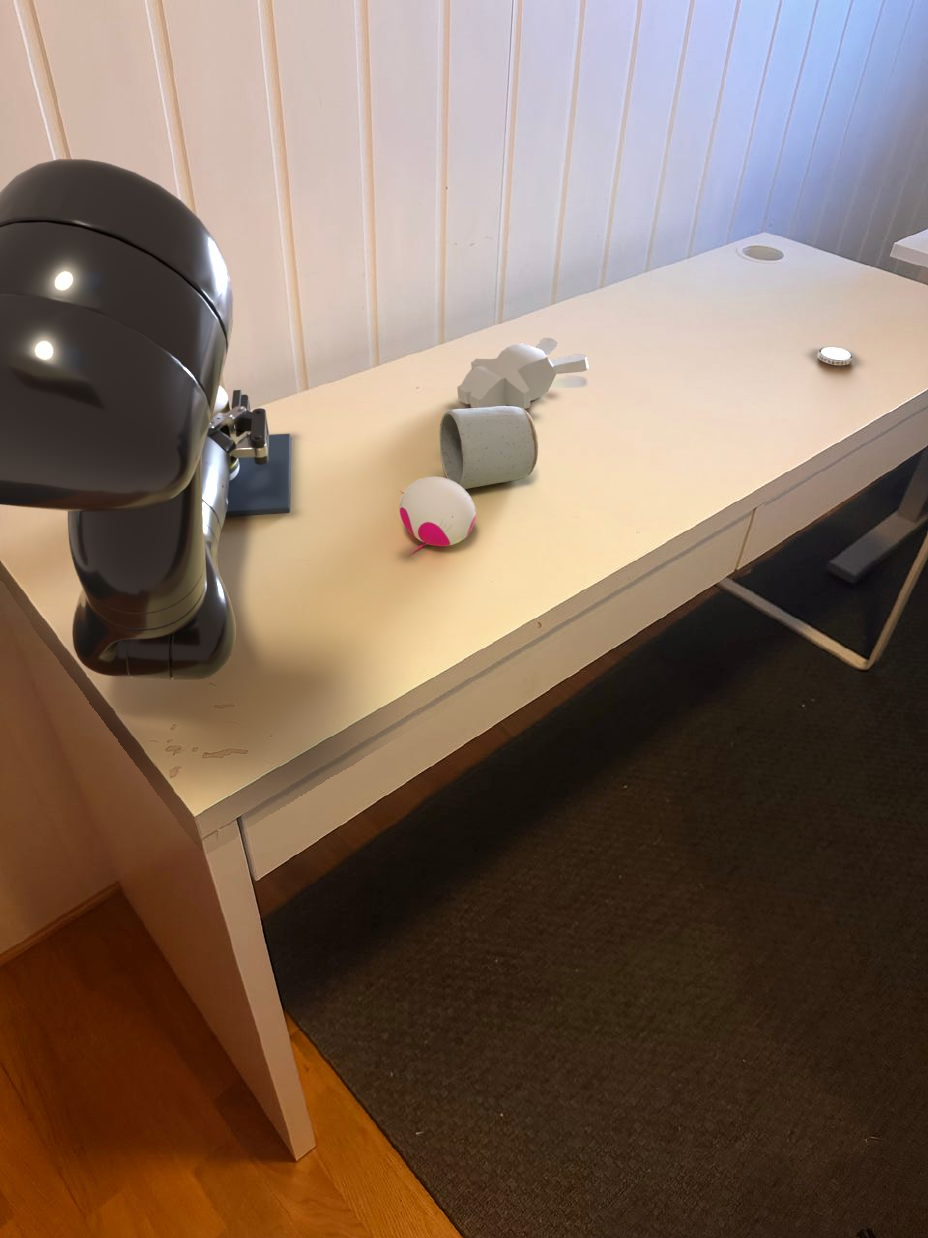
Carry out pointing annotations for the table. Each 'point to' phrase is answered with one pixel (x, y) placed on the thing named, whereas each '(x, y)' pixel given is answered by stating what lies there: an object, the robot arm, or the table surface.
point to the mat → (262, 482)
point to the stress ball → (437, 511)
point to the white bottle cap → (835, 355)
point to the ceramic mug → (487, 445)
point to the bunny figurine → (516, 375)
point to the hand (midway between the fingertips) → (197, 400)
